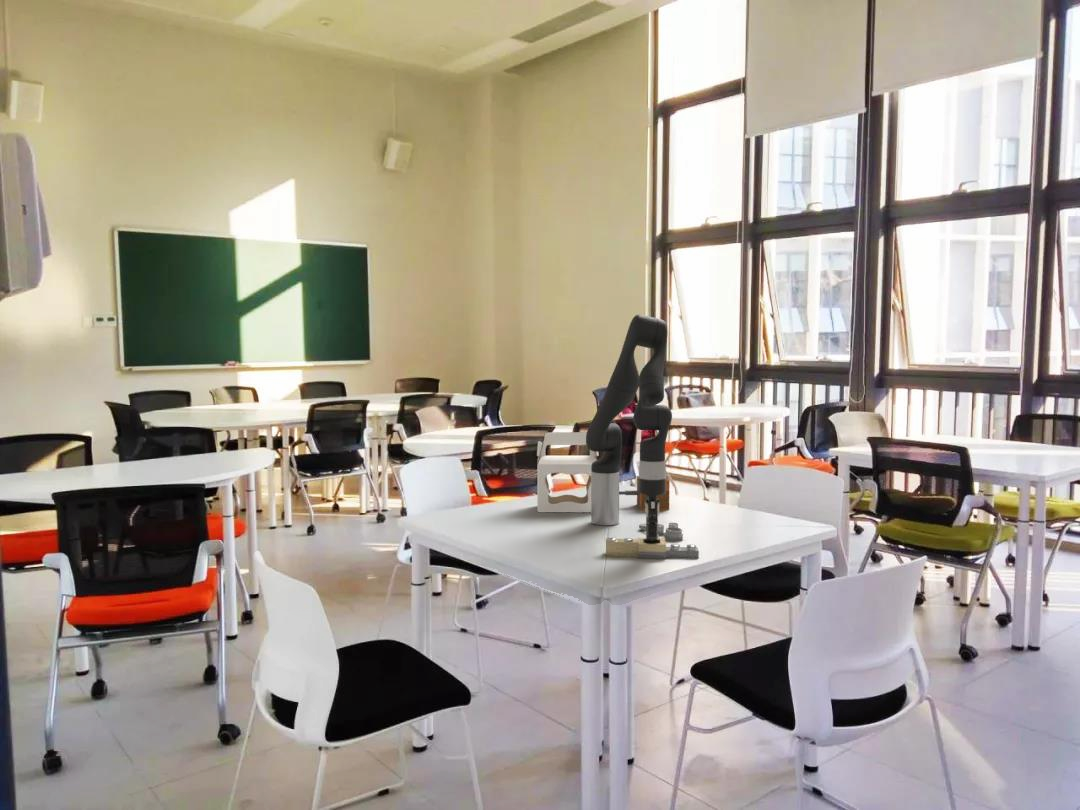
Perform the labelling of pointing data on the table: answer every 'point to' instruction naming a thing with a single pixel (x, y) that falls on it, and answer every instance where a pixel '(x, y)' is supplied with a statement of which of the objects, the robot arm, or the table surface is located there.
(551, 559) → the table surface
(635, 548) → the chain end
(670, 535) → the pulley system
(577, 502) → the white open frame
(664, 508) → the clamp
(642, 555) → the chain end
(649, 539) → the pin
